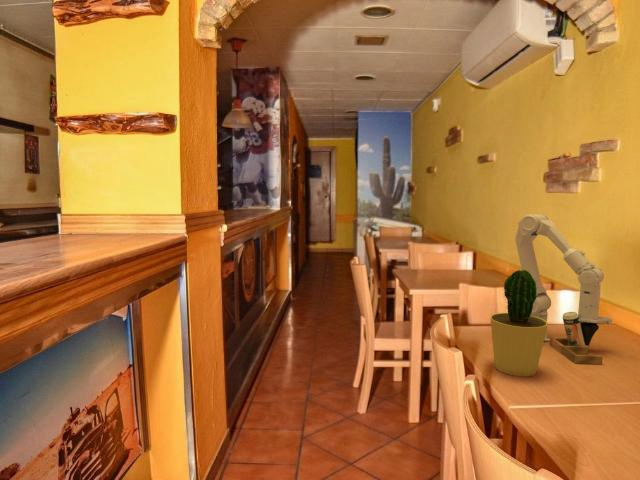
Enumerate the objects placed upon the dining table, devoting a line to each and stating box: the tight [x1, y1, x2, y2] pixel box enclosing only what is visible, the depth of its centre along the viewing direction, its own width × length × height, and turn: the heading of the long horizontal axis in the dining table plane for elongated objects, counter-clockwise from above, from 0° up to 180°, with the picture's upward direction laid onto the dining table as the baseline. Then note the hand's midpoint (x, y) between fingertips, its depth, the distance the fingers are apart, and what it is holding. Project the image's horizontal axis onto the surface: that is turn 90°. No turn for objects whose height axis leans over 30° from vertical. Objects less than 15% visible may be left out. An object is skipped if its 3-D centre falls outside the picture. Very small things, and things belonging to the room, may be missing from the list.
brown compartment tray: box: [549, 337, 604, 365], centre depth 149 cm, size 8×17×2 cm, turn 178°
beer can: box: [562, 311, 585, 346], centre depth 152 cm, size 5×5×12 cm
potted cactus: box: [489, 268, 549, 377], centre depth 134 cm, size 15×15×30 cm
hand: (585, 344), depth 152 cm, fingers closed
